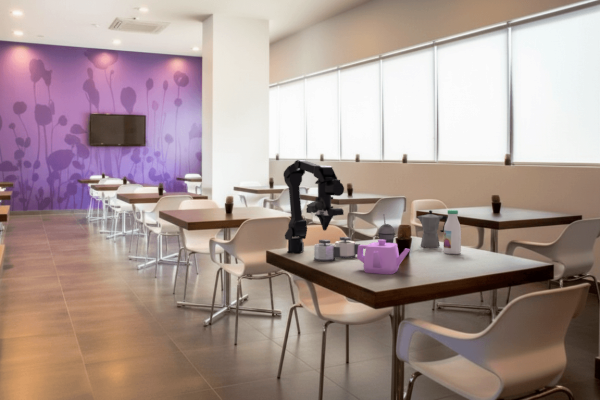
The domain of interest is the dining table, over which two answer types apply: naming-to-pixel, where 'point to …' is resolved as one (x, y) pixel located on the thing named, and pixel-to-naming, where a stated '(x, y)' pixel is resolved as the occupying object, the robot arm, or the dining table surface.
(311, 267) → the dining table surface
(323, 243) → the steel plunger
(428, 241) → the coffeepot
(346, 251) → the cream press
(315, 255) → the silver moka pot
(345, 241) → the cream plunger
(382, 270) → the teakettle
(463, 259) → the dining table surface
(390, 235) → the beverage cup
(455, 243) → the milk bottle
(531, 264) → the dining table surface
